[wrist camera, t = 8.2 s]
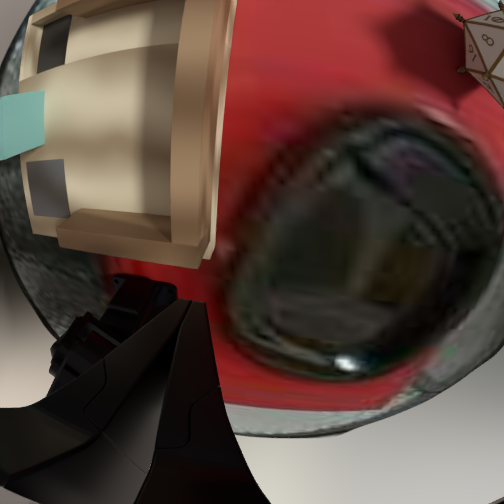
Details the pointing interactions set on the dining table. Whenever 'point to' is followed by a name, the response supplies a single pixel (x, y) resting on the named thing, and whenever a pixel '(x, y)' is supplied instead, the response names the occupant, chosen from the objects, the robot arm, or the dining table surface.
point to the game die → (485, 50)
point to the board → (107, 111)
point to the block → (21, 123)
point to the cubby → (182, 150)
